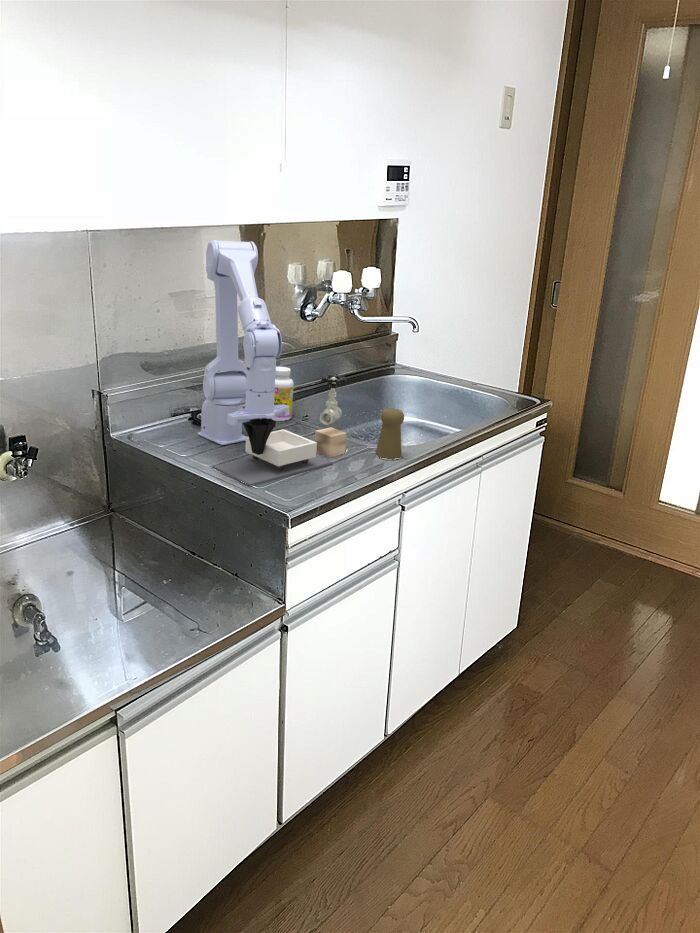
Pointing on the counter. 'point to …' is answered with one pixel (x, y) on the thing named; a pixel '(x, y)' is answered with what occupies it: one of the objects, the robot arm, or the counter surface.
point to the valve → (331, 400)
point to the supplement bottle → (283, 391)
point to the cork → (390, 434)
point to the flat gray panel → (267, 469)
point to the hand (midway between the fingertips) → (257, 453)
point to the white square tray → (285, 449)
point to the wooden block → (330, 442)
